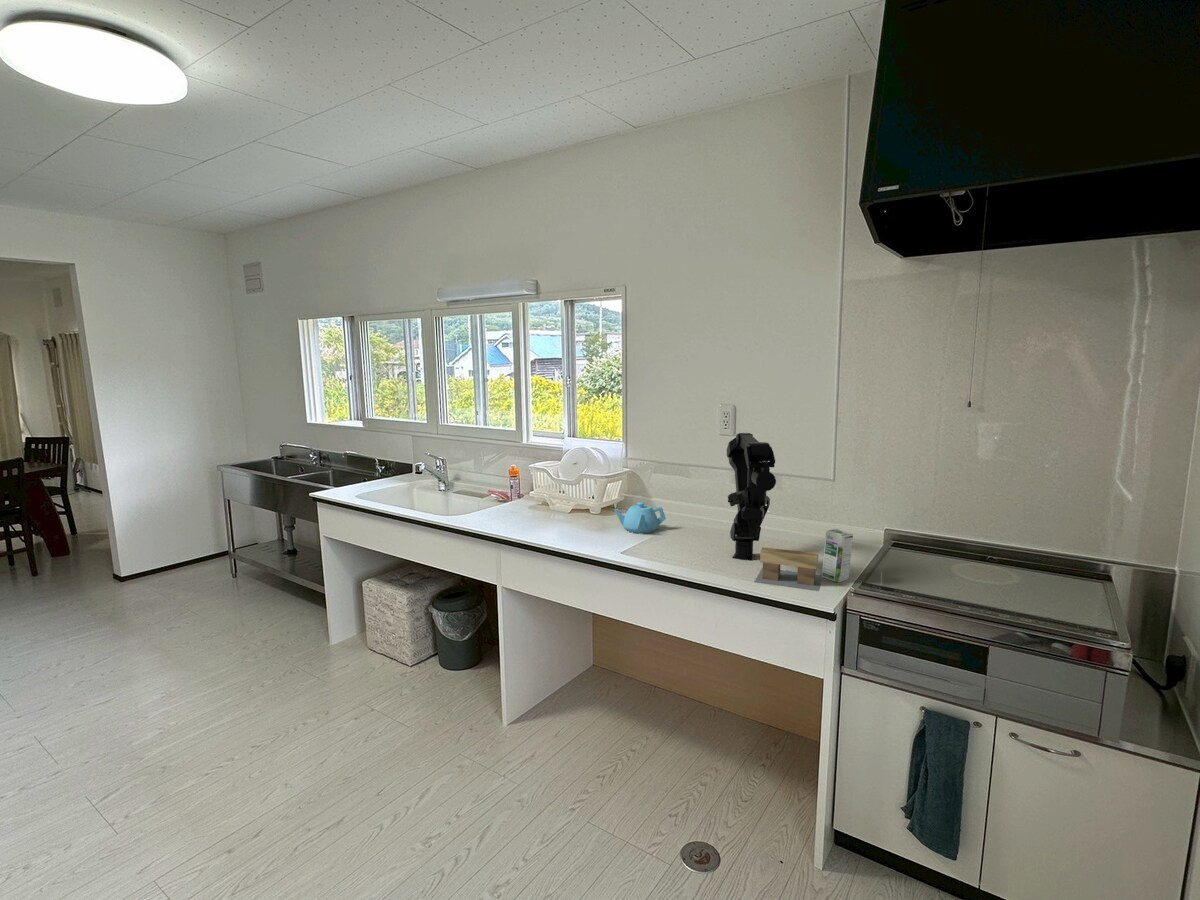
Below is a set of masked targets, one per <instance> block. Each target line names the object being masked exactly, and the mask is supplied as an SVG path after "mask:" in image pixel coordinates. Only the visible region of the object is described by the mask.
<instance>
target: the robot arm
mask: <svg viewBox="0 0 1200 900" xmlns="http://www.w3.org/2000/svg"><path fill="white" fill-rule="evenodd" d="M726 458H728V464H729V465H730V466H731V468H732V469H733V470H734V479H735V481H734V482H735V492H731V493H729V494H728V495H727V502H728V503H729V505H730V507H733V506H734V507H735V506H736V505H737V512H736V514H735V516H734V518H733V523H732V525H731V529H730V531H729V532H730V533H729V534H730V539H731V540H732V542H735V550H734V551H735V552H734V554H733V555H732V559H734V560H736V559H737V560H744V561H753V560H754V558H755V557H756V553H754V542H759V540H760V537H761V530H762V527H761V525H762V523H763V521H764V520H765V516H766V515H767V512H768V510H769V508H770V504H771V498H770V496H768V495H767V492H768V491H771V490H773V489H774V488H775V486H776V484H777V478H776V476H775V475H774V473H772V472H771V471H770V469H771V468H775V464H776V458H775V454H774V450H773V447H772V446H771V444H770V443H769V442H766V441H765V442H764V441H759V440H757V438H755V437H754V434H753V433H751V432H739V433H736V436H735V437H734V438H733V439H731V440H730V441H729V442H728V444H727V448H726Z"/></svg>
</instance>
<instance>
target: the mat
mask: <svg viewBox="0 0 1200 900" xmlns="http://www.w3.org/2000/svg"><path fill="white" fill-rule="evenodd" d="M762 575H763V567H761V569H760V571H759V573H758V574H757V577H755V580H754V583H755V584H756V583H757V584H765V585H770V586H772V585H773V586H778V587H784V588H785V587H786V588H793V589H799V590H800V589H801V590H807V591H816V592H819V591H820V589H821V584H822V581H823V578H822V574H816V573H815V582H814V586H812V585H804V584H797V579H798V571H792V570H791V571H790V570H784V569H780V577H779V580H778V581H775V580H767V579H762Z"/></svg>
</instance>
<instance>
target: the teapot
mask: <svg viewBox="0 0 1200 900" xmlns="http://www.w3.org/2000/svg"><path fill="white" fill-rule="evenodd" d="M613 510H614V512H615V514H616V516H617V517H618V520H619V522H620V523H621V526H623V527H622V528H624V530H625V531H626V530H627V531H626V532H628V531H629V533H631V532H633V533H632V534H639V533H643V534H650V532H651V533H653V531H654V532H656V530H657V529H658V528H659V525H661V524H662V523H663V522H664V521H665V520H666V519H667V518H666V515H665V512H664V509H663V506H659V507H653V508H652V506H650V505H646V504H645V502H641V501H639V502H636V504H634V505H631V506H629V507H628V510H627V511H626V513H625V515H623V514H622V512H621V511H620V510H619V508H614V509H613ZM656 512H659V517H658V516H657V514H656Z"/></svg>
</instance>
